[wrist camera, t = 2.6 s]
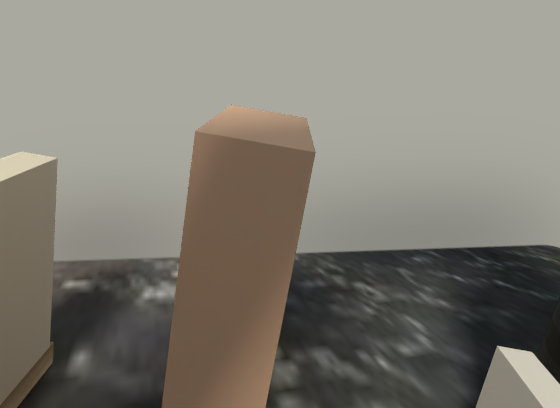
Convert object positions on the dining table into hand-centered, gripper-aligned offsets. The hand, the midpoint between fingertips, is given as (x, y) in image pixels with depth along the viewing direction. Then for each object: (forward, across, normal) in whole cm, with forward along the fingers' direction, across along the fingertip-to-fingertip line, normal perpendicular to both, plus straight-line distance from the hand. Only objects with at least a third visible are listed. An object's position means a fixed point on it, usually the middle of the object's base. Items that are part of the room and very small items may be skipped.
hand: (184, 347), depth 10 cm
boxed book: (+12, +1, -14) cm, 19 cm away
